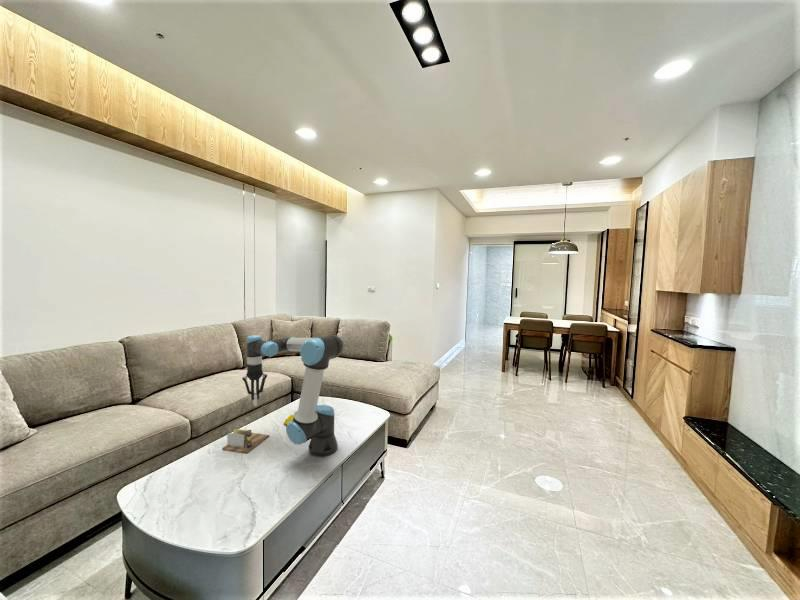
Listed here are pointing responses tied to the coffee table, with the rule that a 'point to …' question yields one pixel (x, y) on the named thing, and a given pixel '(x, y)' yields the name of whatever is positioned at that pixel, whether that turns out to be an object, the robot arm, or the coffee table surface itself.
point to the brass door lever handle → (243, 432)
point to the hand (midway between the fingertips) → (255, 405)
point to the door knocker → (288, 419)
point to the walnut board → (256, 441)
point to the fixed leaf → (238, 440)
